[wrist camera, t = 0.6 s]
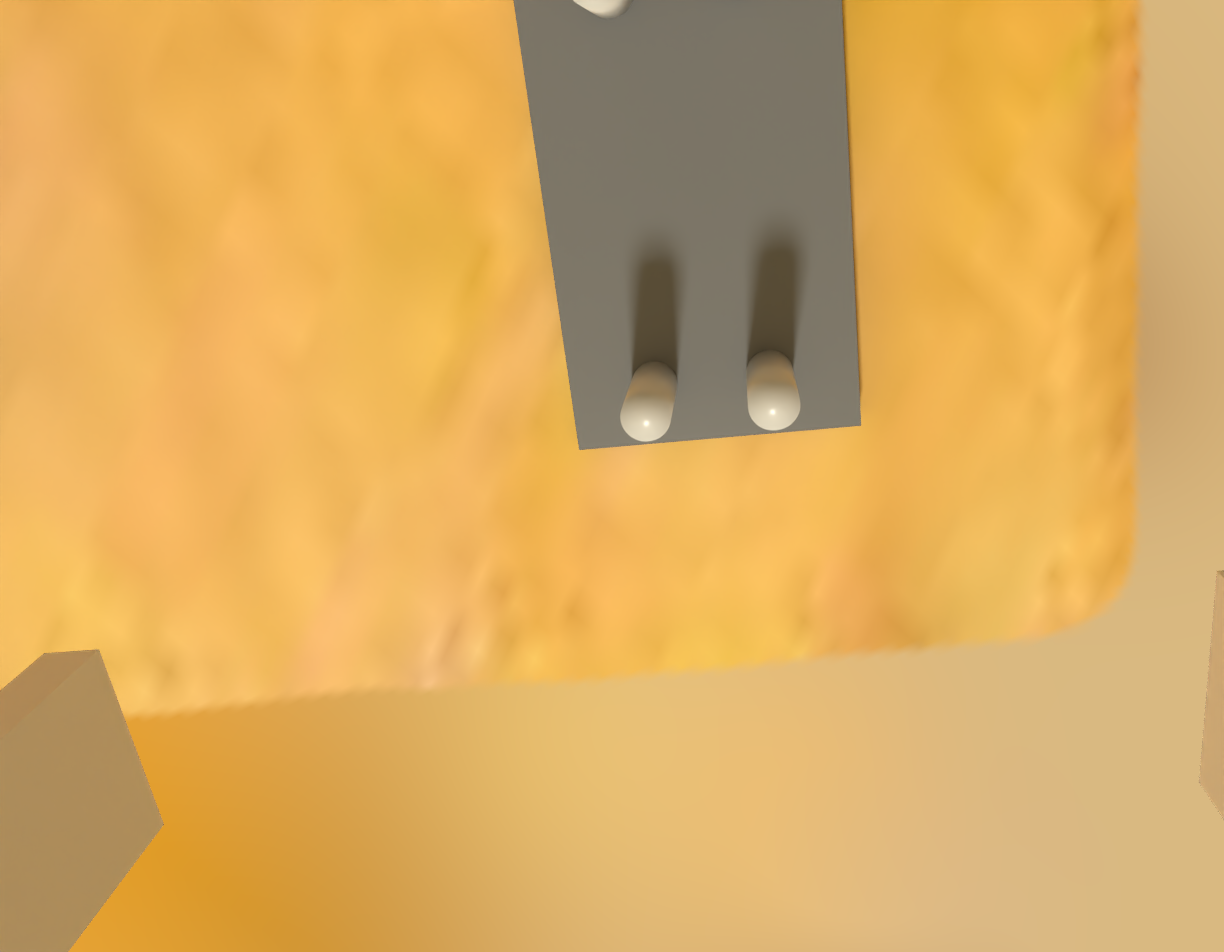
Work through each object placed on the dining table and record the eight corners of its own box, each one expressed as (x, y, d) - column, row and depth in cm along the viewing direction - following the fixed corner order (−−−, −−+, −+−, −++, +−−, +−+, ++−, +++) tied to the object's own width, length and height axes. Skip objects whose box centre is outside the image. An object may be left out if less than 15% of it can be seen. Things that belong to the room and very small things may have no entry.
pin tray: (509, -69, 32) (471, -97, 27) (832, -123, 30) (851, -162, 26) (582, 441, 37) (561, 490, 33) (857, 416, 36) (876, 464, 31)
